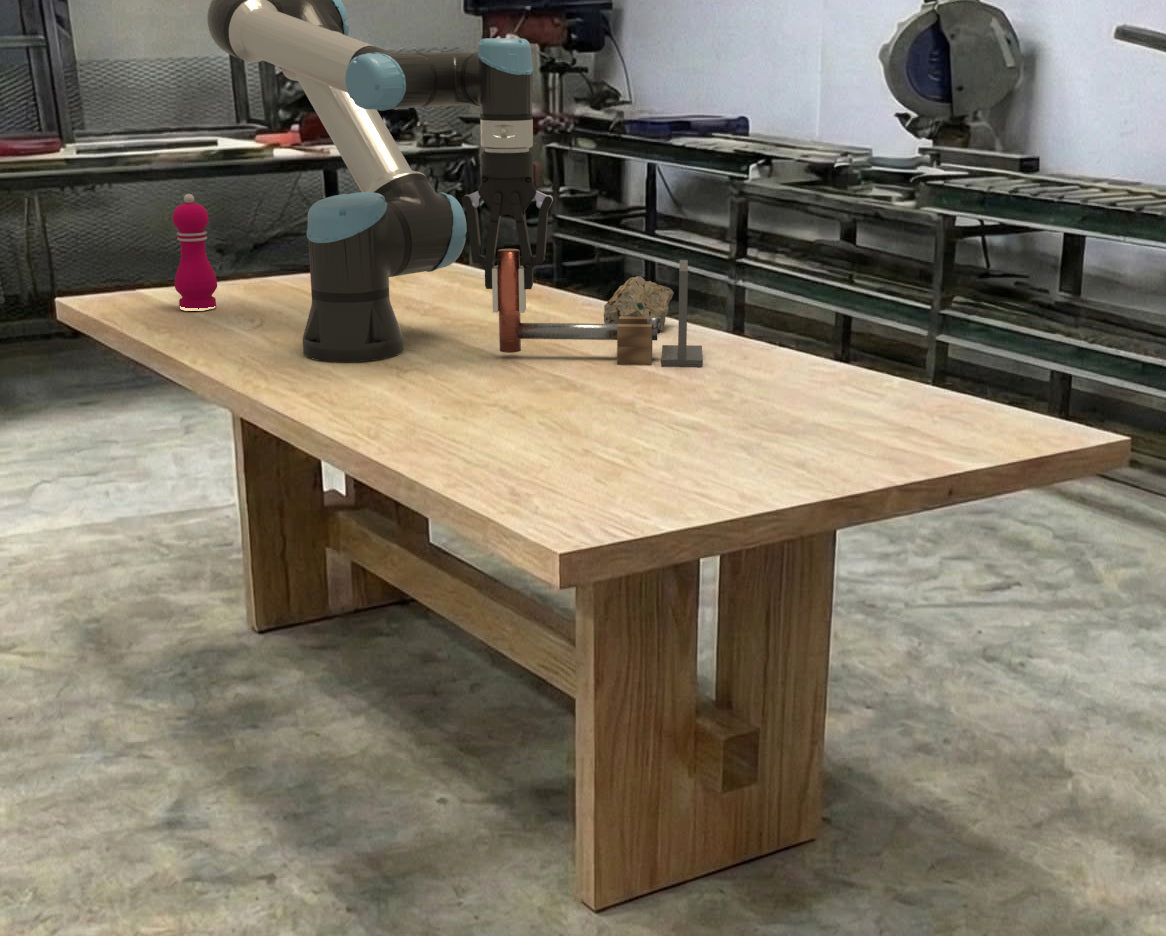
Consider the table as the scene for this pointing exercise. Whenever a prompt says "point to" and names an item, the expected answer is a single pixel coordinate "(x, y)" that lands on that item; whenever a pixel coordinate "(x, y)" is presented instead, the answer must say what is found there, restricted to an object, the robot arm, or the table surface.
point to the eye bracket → (682, 332)
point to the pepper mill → (193, 257)
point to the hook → (515, 330)
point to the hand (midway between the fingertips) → (509, 310)
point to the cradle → (634, 341)
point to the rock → (638, 301)
